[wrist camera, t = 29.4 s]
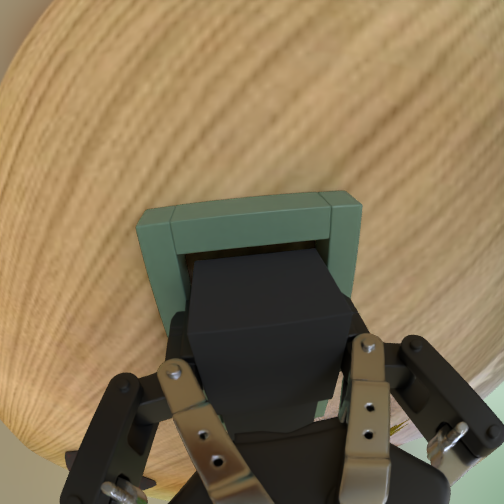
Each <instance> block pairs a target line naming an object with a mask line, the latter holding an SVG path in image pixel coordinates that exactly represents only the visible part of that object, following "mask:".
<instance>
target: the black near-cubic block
mask: <svg viewBox="0 0 504 504" xmlns="http://www.w3.org/2000/svg"><path fill="white" fill-rule="evenodd" d="M317 404H318V402H314V403H309V404H303V405H298V406H292V407H286V408H279V409H272V410H265V411H257V412H248V413H238V414H227V415H222V417H223V420H224V423H225V426H226V429H227V432H228V435H229V436H230V438H231V440H232V441H233V440H235V439H234V433H245V432H254V431H269V432H284V433H288V432H292V431H294V430H297V429H299V428H301V427H304V426H306V425H308V424H311V423H313V422H314V418H315V413H316V409H317Z"/></svg>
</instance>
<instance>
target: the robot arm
mask: <svg viewBox="0 0 504 504" xmlns="http://www.w3.org/2000/svg"><path fill="white" fill-rule="evenodd" d="M342 294H343V296H344V298H345V299H346V301H347V303H348V305H349V307H350V308H351V310H352V312H353V314H352V319H351V324H350V329H349V334H348V338H347V343H346V347H345V351H344V355H343V360H342V364H341V368H340V371H342V373H343V380H342V387H341V396H340V405H339V413H338V417H334V418H330V419H325V420H321V421H316V422H313V423H311V424H308V425H306V426H304V427H301V428H299V429H297V430H294V431H292V432H288V433H284V432H269V431H254V432H245V433H234V439H235V440H233V441H232V440H231V438H230V436H229V435H228V433H227V431H226V429H225V428H224V426H223V424H222V423H221V421H220V419H219V417H218V416H217V414H216V412H215V410H214V408H213V407H212V405H211V403H210V402H209V401H208V400H207V398H206V396H205V395H204V393H203V390H204V387H203V384H202V381H201V378H200V375H199V372H198V369H197V366H196V363H195V360H194V356H193V353H192V350H191V347H190V343H189V340H188V337H187V325H188V314H189V304H190V300H186V305H185V311H180V312H176V313H175V315H174V316H173V317H172V319H171V323H170V330H169V336H168V343H167V350H166V358H165V362H163V363H162V364H161V365H160V366H159V368H158V370H157V372H156V373H154V374H152V375H149V376H145V377H142V378H139V379H138V378H137V377H136V376H135V375H134V374H132V373H121V374H118V375H116V376H115V377H113V378H112V379H111V381H110V382H109V384H108V386H107V388H106V391H105V393H104V395H103V397H102V399H101V401H100V403H99V405H98V407H97V410H96V412H95V414H94V416H93V418H92V420H91V423H90V425H89V427H88V429H87V432H86V434H85V436H84V438H83V441H82V443H81V445H80V448H79V450H78V452H77V455H76V457H75V460H74V462H73V465H72V467H71V470H70V472H69V475H68V477H67V480H66V483H65V485H64V488H63V490H62V493H61V496H60V504H148V500H147V497H146V495H145V493H144V492H143V491H142V490H141V489H139V485H140V482H141V479H142V475H143V472H144V469H145V466H146V462H147V459H148V456H149V453H150V450H151V446H152V443H153V440H154V437H155V434H156V431H157V428H158V425H159V422H160V421H164V420H167V419H170V418H173V421H174V423H175V425H176V428H177V430H178V432H179V435H180V437H181V439H182V441H183V443H184V446H185V448H186V450H187V452H188V454H189V456H190V458H191V460H192V462H193V464H194V466H195V468H196V472H195V473H194V474H193V475H192V476H191V478H190V479H189V480H188V481H187V482H186V484H185V485H184V486H183V487H182V488H181V489H180V491H179V492H178V493H177V494H176V495H175V496H174V497H173V499H172V500H171V501H170V502H169V503H168V504H449V501H450V495H451V493H450V491H451V490H450V487H451V486H452V485H453V484H454V483H455V482H456V481H458V480H459V479H460V478H461V477H462V476H463V475H464V474H465V473H466V472H468V471H469V470H470V469H471V468H472V467H473V466H475V465H476V464H478V463H479V462H480V461H482V460H483V459H484V458H486V457H487V456H488V455H489V454H491V453H492V452H493V451H494V450H496V449H497V448H498V447H499V446H500V445H502V443H503V442H504V424H503V423H502V422H501V421H500V419H499V418H498V417H497V416H496V415H495V414H494V412H493V411H492V410H491V409H490V408H489V407H488V406H487V404H486V403H485V402H484V401H483V400H482V399H481V398H480V396H479V395H478V394H477V393H476V392H475V391H474V390H473V389H472V388H471V386H470V385H469V384H468V383H467V382H466V381H465V380H464V379H463V378H462V377H461V376H460V375H459V373H458V372H457V371H456V370H455V369H454V368H453V367H452V366H451V365H450V364H449V363H448V362H447V361H446V360H445V359H444V358H443V357H442V356H441V355H440V354H439V353H438V352H437V350H436V349H435V348H434V347H433V346H432V345H431V344H430V343H429V342H428V341H427V340H426V339H424V338H423V337H421V336H418V335H408V336H406V337H405V338H404V339H403V340H402V342H401V343H384V342H383V341H382V340H381V339H380V338H379V337H378V336H376V335H374V334H370V332H369V331H368V329H367V327H366V325H365V323H364V322H363V320H362V318H361V316H360V315H359V313H358V311H357V309H356V308H355V307H354V304H353V303H352V301H351V299H350V298H349V297H348V296H346V295H345V294H344V293H342ZM390 393H391V395H392V396H393V397H394V398H395V400H396V401H397V402H398V404H399V405H400V406H401V407H402V409H403V410H404V411H405V413H406V414H407V415H408V417H409V418H410V419H411V421H412V422H413V423H414V425H415V426H416V427H417V428H418V430H419V431H420V432H421V434H422V435H423V436H424V438H425V439H426V440H427V442H428V445H427V454H428V455H427V458H428V459H429V460H430V461H431V465H430V464H428V463H426V462H424V461H422V460H420V459H418V458H416V457H415V456H413V455H411V454H409V453H407V452H406V451H404V450H402V449H400V448H398V447H397V446H395V445H393V444H391V443H390Z"/></svg>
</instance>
